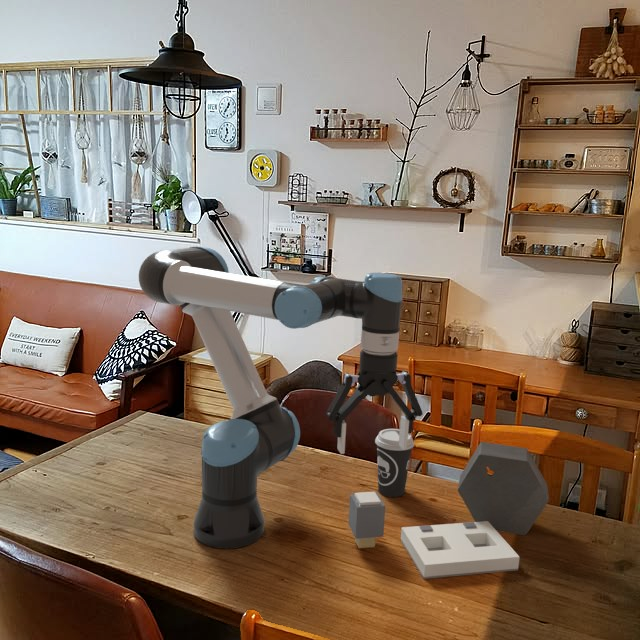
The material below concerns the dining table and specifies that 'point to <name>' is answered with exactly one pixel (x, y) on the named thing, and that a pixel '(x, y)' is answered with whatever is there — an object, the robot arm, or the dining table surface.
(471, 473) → the grey hexagonal prism
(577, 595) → the dining table surface
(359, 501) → the plug
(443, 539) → the socket plate
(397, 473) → the coffee cup
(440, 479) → the dining table surface
